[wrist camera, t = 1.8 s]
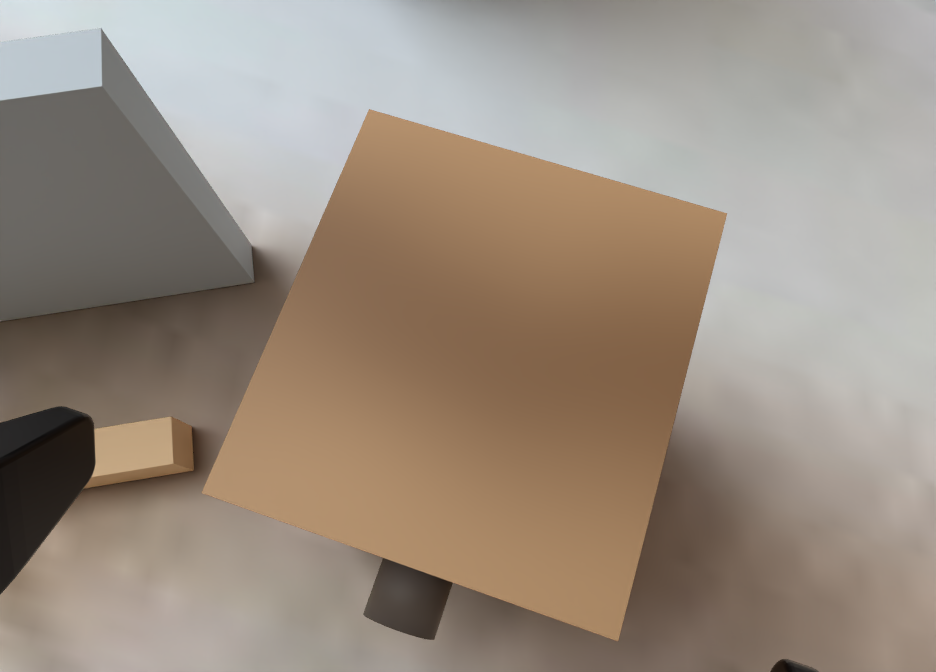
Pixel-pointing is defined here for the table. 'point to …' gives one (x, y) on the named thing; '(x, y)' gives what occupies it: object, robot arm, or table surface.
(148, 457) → the wall board
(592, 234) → the cabinet
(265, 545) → the table surface
